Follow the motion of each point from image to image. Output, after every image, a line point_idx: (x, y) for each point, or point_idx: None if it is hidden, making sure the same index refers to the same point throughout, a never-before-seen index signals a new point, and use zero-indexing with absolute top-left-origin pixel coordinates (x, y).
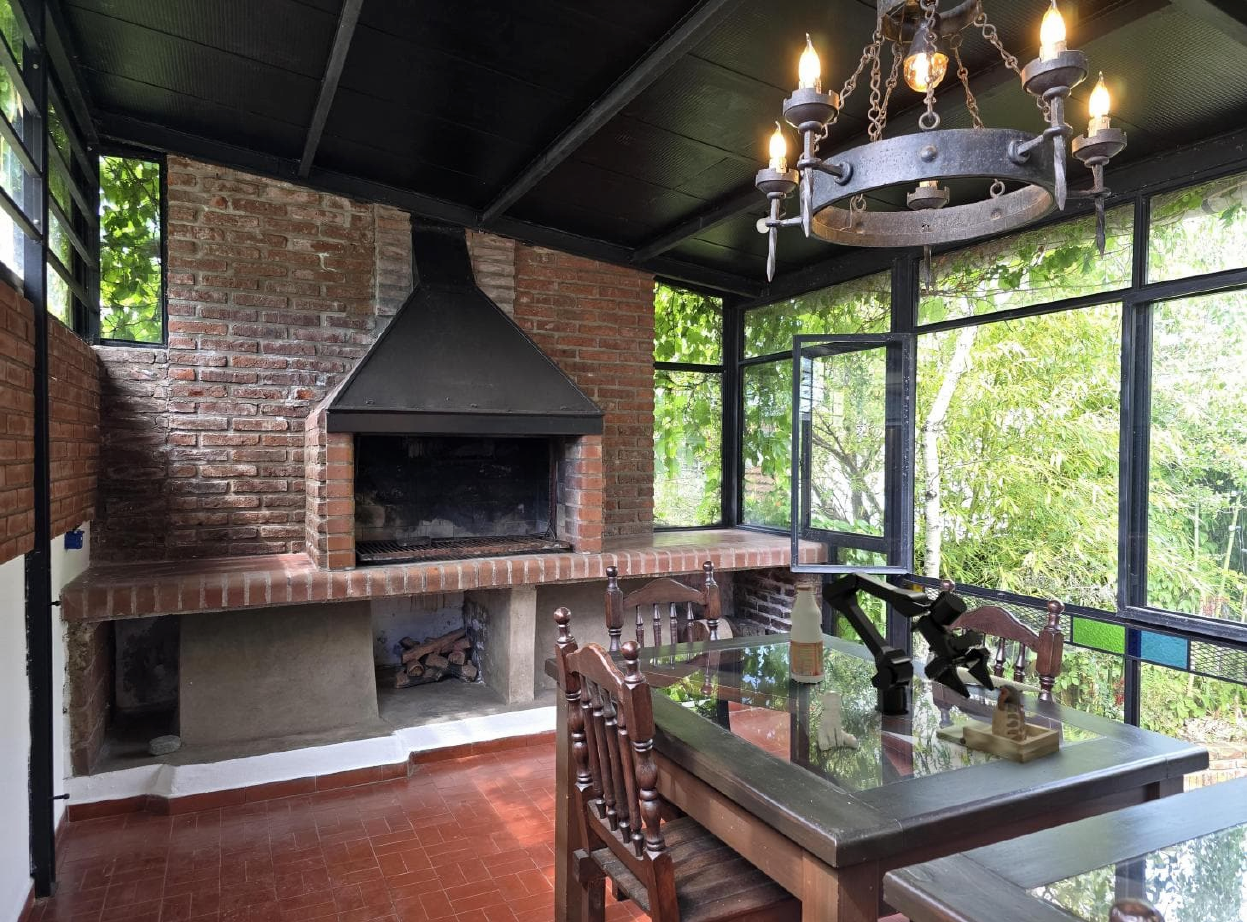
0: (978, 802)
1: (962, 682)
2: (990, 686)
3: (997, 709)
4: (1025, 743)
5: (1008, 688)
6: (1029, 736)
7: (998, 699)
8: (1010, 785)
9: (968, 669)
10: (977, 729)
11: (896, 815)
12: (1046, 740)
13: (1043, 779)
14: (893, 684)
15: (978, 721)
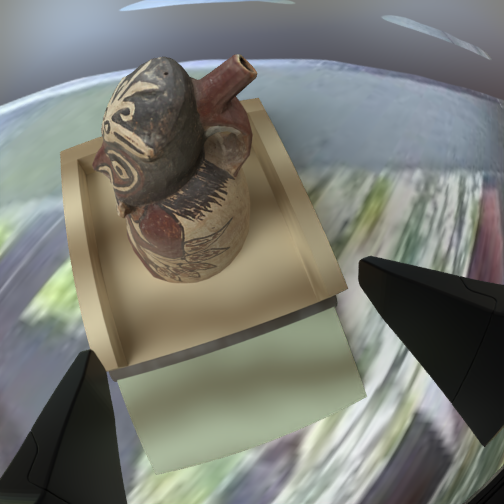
0: (418, 77)
1: (437, 289)
2: (95, 373)
3: (239, 180)
4: (241, 102)
5: (185, 72)
6: (113, 218)
7: (251, 130)
8: (348, 82)
9: None
10: (310, 247)
11: (501, 110)
12: None
13: (269, 74)
14: None
15: (148, 448)
